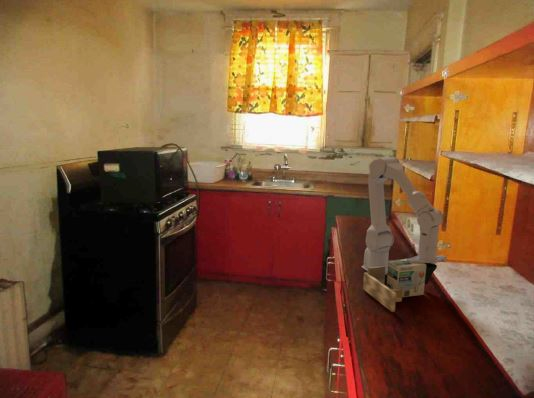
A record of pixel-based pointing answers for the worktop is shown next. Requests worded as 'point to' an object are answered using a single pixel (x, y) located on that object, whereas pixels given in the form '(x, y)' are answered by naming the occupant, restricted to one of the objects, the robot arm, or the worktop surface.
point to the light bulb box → (406, 277)
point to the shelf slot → (381, 287)
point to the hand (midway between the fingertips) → (424, 283)
